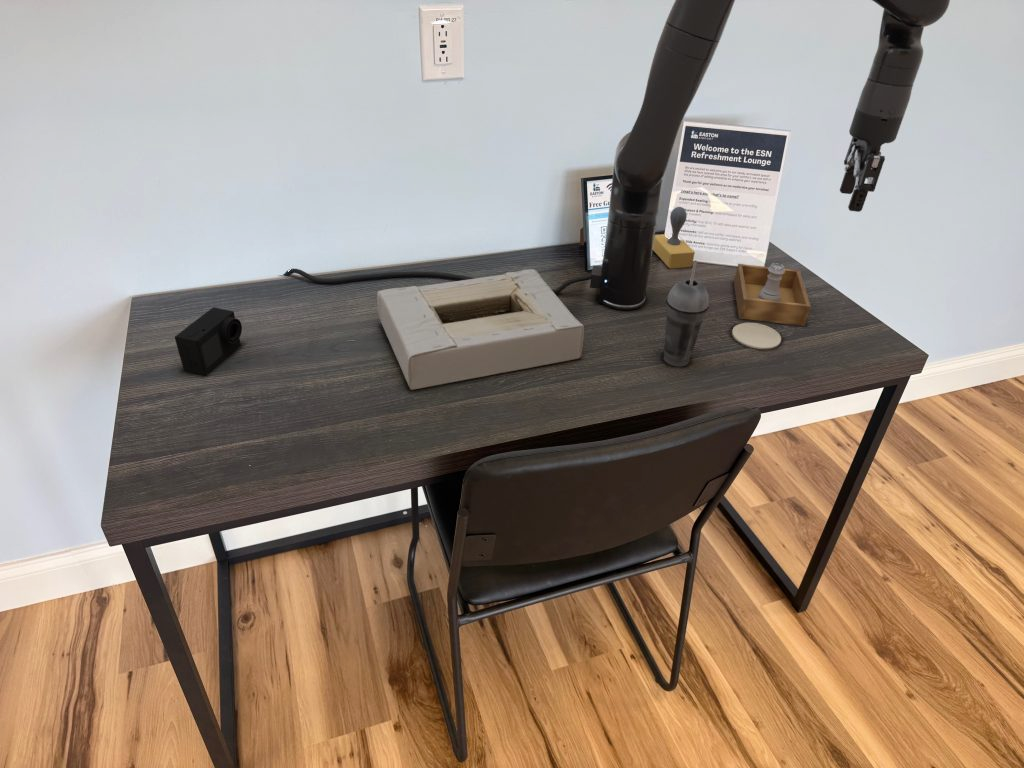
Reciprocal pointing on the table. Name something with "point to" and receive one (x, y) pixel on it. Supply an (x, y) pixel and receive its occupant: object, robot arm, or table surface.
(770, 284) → the rook chess piece
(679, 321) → the beverage cup
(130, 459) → the table surface
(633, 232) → the robot arm
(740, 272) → the wooden tray
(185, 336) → the digital camera
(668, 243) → the rubber stamp
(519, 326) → the box
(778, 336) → the coaster
